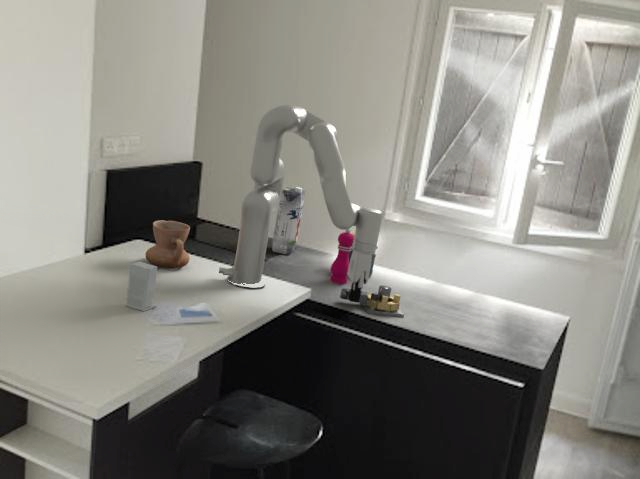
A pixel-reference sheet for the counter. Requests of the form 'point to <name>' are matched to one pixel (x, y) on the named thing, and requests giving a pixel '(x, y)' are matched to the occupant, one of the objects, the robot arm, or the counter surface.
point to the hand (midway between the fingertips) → (353, 301)
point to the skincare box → (141, 286)
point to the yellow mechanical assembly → (375, 300)
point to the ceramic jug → (169, 245)
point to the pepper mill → (342, 258)
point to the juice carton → (288, 220)
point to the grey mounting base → (382, 291)
